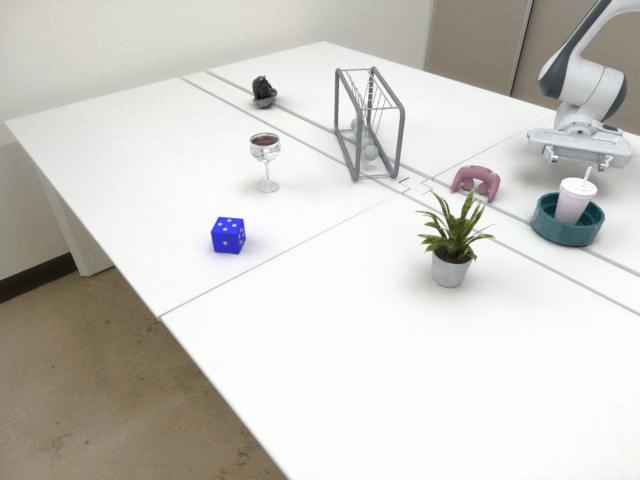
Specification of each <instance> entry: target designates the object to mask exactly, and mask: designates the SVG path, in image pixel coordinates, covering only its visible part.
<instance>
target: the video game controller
mask: <svg viewBox="0 0 640 480" xmlns="http://www.w3.org/2000/svg"><path fill="white" fill-rule="evenodd" d="M474 179H475V180H477V181H481V182H480V183H479V184H478V185H477V188H476V190H477V192H478V193H480V194H486V193H488V194H487V195H488V197H487V202H488V203H492V202H493V201H494V200H495V198H496V196H497V193H498V192H499V189H500V188H499V187H500V185H501V181H502V180H501V177H500V175H499V174H497V173H496V172H495V171H493V170H492V169H490V168H487V167H485V166H481V165H473V164H472V165H471V164H470V165H469V164H467V165H464V166H462V167H460V168H459V169H458V170H457V172H456V173H455V176H454V177H453V179H452V184H451V186H450V187H451V188H450V190H451V192H452V193H454V192H456V191H457V190H458V189H459V187H460V186H461V184H463V188H464V189H465V190H471V189H472V188H473V187H474V188H475V181H474Z"/></svg>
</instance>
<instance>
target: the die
mask: <svg viewBox="0 0 640 480" xmlns="http://www.w3.org/2000/svg"><path fill="white" fill-rule="evenodd" d="M210 237H211V241H212V247H213V251H214V253H224V254H234V255H240V254H241V251H242V249H243V246H244V244H245V242H246V239H247V235H246V228H245V220H244V218H239V217H229V216H218V217H217V219H216V221H215V223H214V224H213V227H212V228H211V230H210Z"/></svg>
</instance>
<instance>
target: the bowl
mask: <svg viewBox="0 0 640 480" xmlns="http://www.w3.org/2000/svg"><path fill="white" fill-rule="evenodd" d="M559 194H560V191H556V192H555V191H554V192H547V193H545V194H543V195H541V196H540V197H539V198H538V199H537V202H536V204H535V207H534V210H533V213H532V216H531V219H530V222H531V226H532V227H533V229H534V230H535V231H536V232H537V233H538V234H539V235H540V236H542V237H544V238H545V239H546V240H549V241H552V242H553V243H557V244H560V245H564V246H570V247H571V246H573V247H580V246H587V245H590V244H591V243H594V241H595V240H596V239H597V237H598V236H599V233H600V231H601V228H602V226H603V225H604V223H605V221H606V214H605V212H604V210H603V209H602V207H600V205H598V204H597V203H595V202H594V201H592V200H590V202H589V204H588V205H587V207H586V208H585V210H584V211H583V213H582V215H581V216H580V218H579V219H578V221H577V223H576V224H575V226H574V225H570V224H566V223H563V222H560V221H558V220H555V219H554V216H555V212H556V207H557V203H558V199H559Z"/></svg>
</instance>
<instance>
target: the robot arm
mask: <svg viewBox="0 0 640 480" xmlns="http://www.w3.org/2000/svg"><path fill="white" fill-rule="evenodd" d="M635 12H640V0H596V1H595V2H594V4H593V5H592V6H591V7H590V8H589V10H588V11H587V12H586V14H585V15H584V17H582V19H581V20H580V22H579V23H578V24H577V25H576V27H575V28H574V29H573V30H572V32H571V33H570V35H568V37H567V38H566V39H565V40H564V41H563V43H562V45H561V46H559V48H558V49H557V50H556V51H555V52H554V54H553V55H552V56H551V57H550V58H549V59H548V60H547V61H546V63H544V64H543V66H542V68H541V70H540V71H539V74H538V77H537V80H536V83H537V86H538V89H539V92H540V93H541V95H542V96H544V97H546V98H549V99H554V100H559V101H562V102H561V103H560V104H559V106H558V108H557V109H556V112H555V115H554V121H553V129H552V128H545V127H536V128H534V129H532V130H530V129H529V130H528V131H527V132H526V138H527V139H528V141H527V144H526V147H525V152H526V153H528V154H529V155H534V156H539V157H543V158H545V160H547V162H548V164H553V165H557V162H558V160H565V161H571V162H578V163H583V164H588V165H595V166H597V167H596V169H597V172H599V173H607V171H608V169H609V168H611V169H612V168H613V169H619V170H623V169H625V168H627V167H628V165H629V164H630V162H631V160H632V157H633V149H632V147H631V144H630V143H629V141H628V139H627V138H625V137H623V135H624V130H623V129H621V128H618V127H614V126H611V125H608V124H605V123H604V122H606V121H607V120H609V119H611V118H612V116H614V114H616V112H617V111H618V110H619V109H620V107H621V106H622V104H623V102H624V101H625V99H626V96H627V94H628V79H627V76H626V73H625V72H622V71H620V70H618V69H616V68H612V67H610V66H606V65H602V64H600V63H597V62H595V61H591V60H589V59H587V58H583V57H582V56H581V53H582V52H583V51H584V49H585V48H586V47H587V46H588V44H589V43H590V42H591V41H592V40H593V38H594V37H595V36H596V35H597V33H598V32H599V31H600V30H601V28H602V27H603V26H604V25H605V24H606V23H608V21H609V20H610V19H612V18H614V17H616V16H619V15H621V14H626V13H635Z"/></svg>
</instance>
